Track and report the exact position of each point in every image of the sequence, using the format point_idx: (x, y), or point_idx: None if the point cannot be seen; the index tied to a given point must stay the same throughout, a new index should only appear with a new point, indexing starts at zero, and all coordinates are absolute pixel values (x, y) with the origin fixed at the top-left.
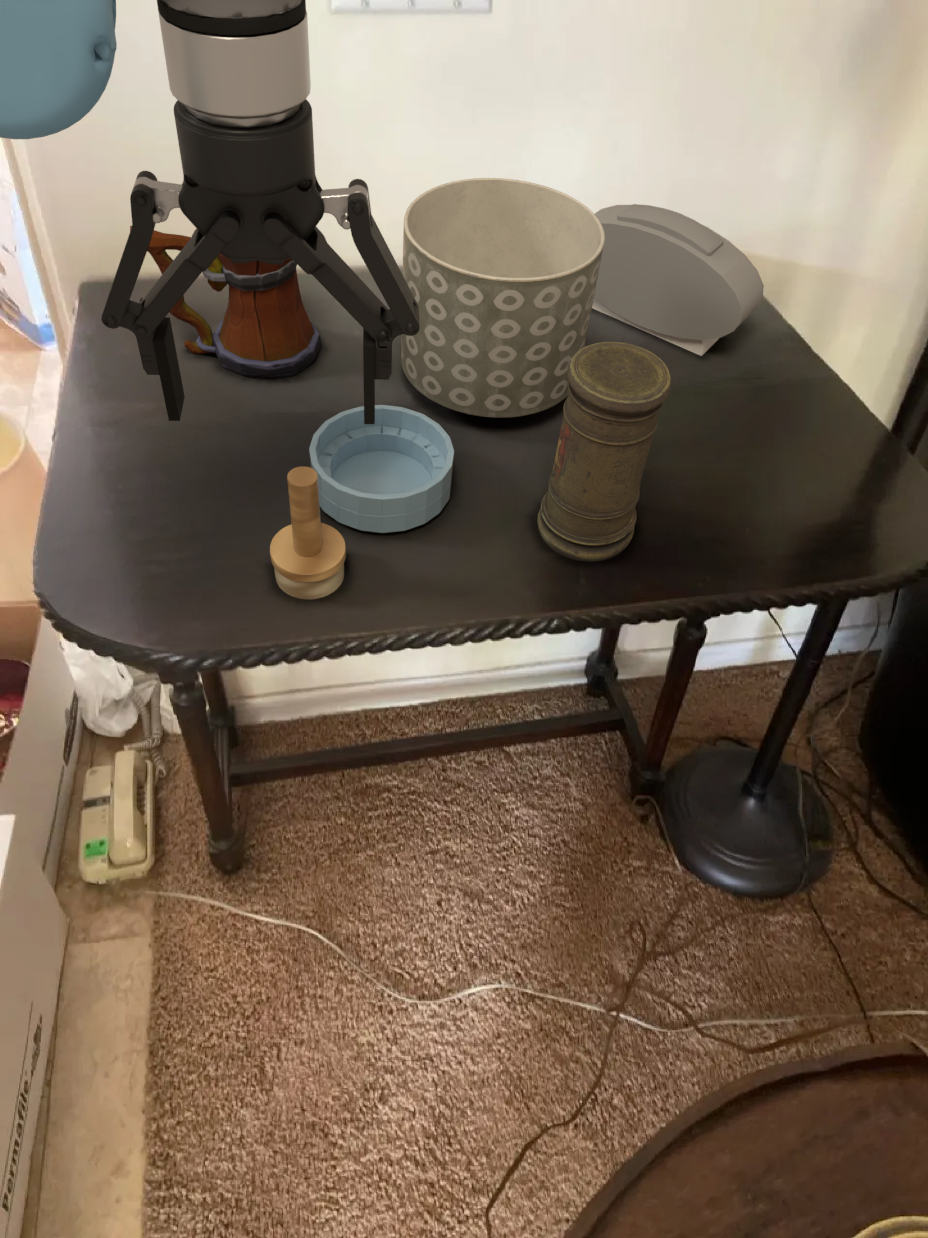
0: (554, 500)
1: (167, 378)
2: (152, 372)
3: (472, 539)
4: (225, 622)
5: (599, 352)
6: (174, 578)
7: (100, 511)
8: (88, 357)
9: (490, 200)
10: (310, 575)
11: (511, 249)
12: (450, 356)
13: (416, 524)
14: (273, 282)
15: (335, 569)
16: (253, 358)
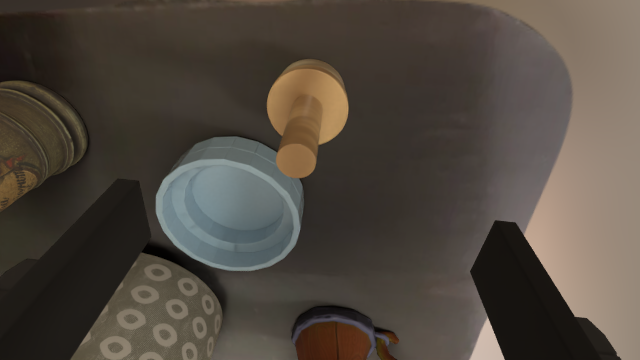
0: (37, 139)
1: (551, 304)
2: (579, 322)
3: (150, 123)
4: (402, 36)
5: None
6: (445, 104)
7: (497, 191)
8: (472, 335)
9: None
10: (306, 68)
11: None
12: (153, 312)
13: (202, 142)
14: None
15: (278, 77)
16: (345, 324)
